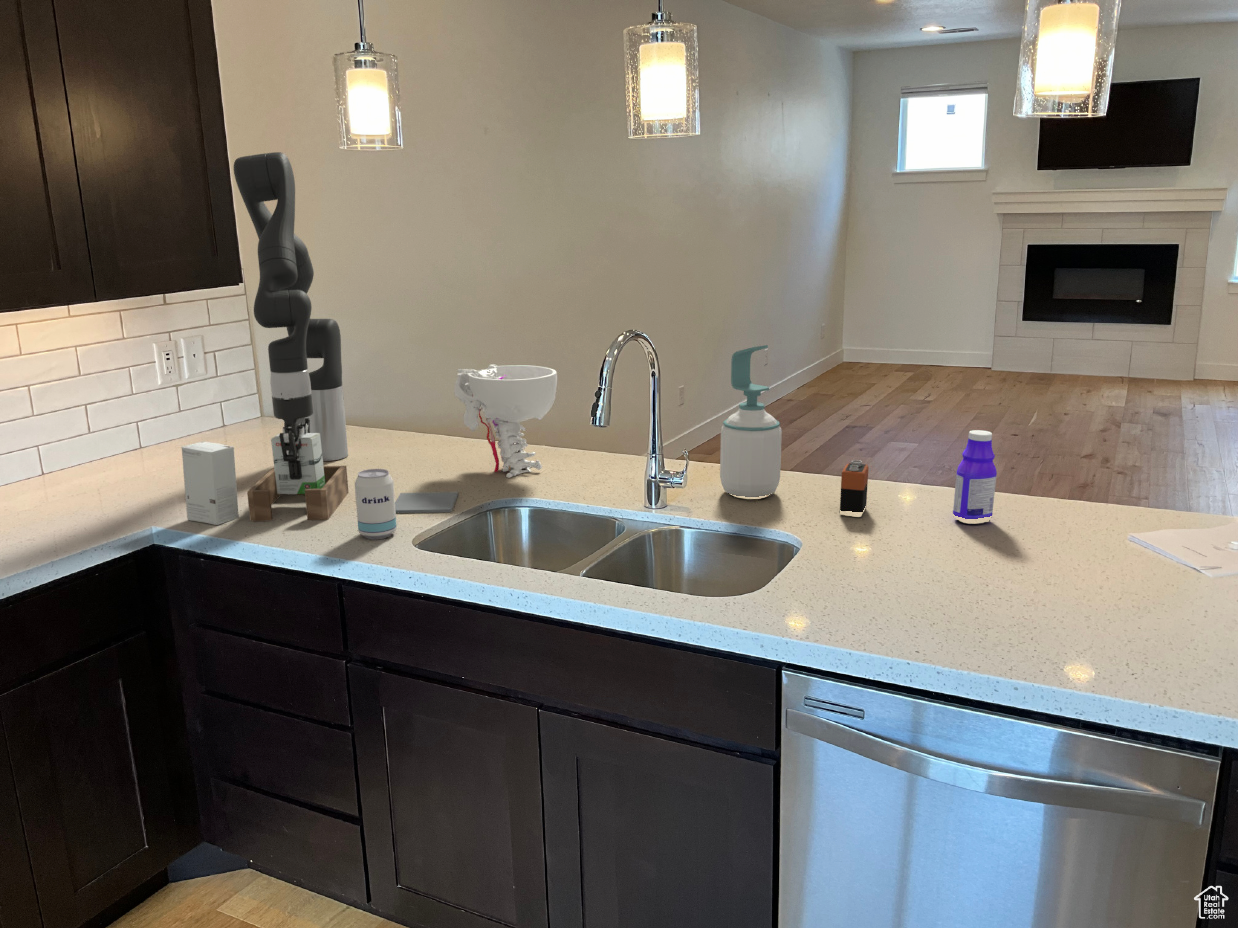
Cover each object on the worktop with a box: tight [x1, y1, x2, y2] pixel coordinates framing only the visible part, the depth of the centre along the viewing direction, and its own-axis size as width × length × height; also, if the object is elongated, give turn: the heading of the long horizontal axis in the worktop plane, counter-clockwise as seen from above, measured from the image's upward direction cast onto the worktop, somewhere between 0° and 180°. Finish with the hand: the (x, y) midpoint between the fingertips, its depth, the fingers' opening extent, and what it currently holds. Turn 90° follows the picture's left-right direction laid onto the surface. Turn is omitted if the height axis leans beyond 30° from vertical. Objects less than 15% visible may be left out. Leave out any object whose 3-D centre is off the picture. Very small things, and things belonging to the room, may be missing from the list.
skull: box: [453, 364, 558, 478], centre depth 225 cm, size 25×19×23 cm
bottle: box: [952, 429, 998, 519], centre depth 187 cm, size 7×6×17 cm
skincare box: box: [181, 441, 239, 526], centre depth 194 cm, size 8×6×15 cm
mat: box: [395, 491, 459, 514], centre depth 204 cm, size 12×12×1 cm
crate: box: [246, 465, 349, 522], centre depth 202 cm, size 18×15×6 cm
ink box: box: [270, 433, 325, 494], centre depth 201 cm, size 9×5×12 cm, turn 85°
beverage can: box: [354, 468, 398, 540], centre depth 184 cm, size 7×7×12 cm
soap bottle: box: [719, 344, 783, 497], centre depth 204 cm, size 12×12×31 cm
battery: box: [839, 459, 869, 512], centre depth 194 cm, size 4×7×10 cm, turn 159°
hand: (299, 474), depth 201 cm, fingers closed on ink box, 5 cm apart
